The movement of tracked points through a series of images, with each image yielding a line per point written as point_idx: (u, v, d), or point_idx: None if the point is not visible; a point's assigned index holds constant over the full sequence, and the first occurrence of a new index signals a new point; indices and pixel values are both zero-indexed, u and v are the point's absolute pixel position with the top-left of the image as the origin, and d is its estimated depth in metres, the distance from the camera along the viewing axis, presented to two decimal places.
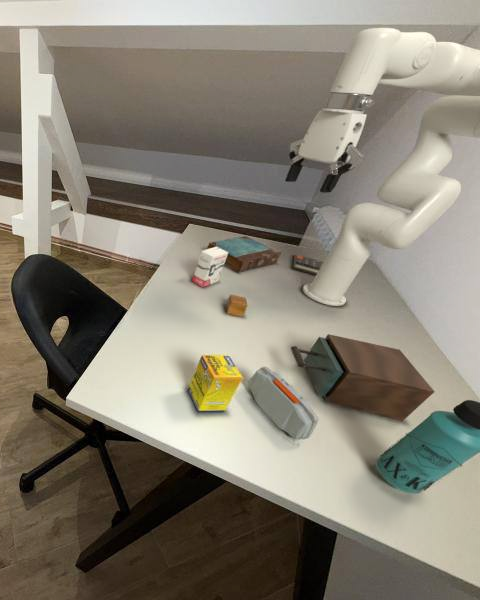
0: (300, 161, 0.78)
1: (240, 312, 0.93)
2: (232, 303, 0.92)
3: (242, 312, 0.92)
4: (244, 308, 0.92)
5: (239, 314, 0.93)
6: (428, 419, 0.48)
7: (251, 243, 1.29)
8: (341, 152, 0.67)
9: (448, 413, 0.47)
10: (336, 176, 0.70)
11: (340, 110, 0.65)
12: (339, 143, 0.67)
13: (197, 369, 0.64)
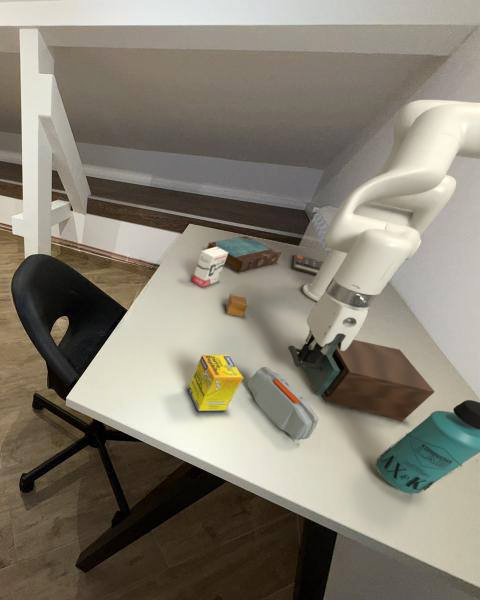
0: None
1: (240, 312, 0.93)
2: (232, 303, 0.92)
3: (242, 312, 0.92)
4: (244, 308, 0.92)
5: (239, 314, 0.93)
6: (428, 419, 0.48)
7: (251, 243, 1.29)
8: (328, 339, 0.62)
9: (448, 413, 0.47)
10: (313, 351, 0.68)
11: (332, 298, 0.61)
12: (328, 329, 0.62)
13: (197, 369, 0.64)
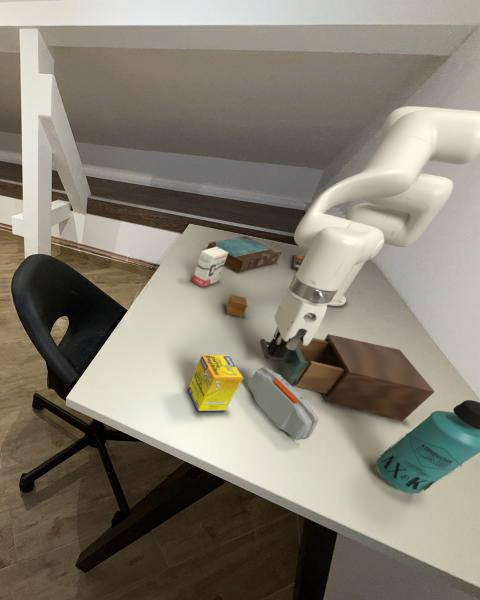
0: None
1: (240, 312, 0.93)
2: (232, 303, 0.92)
3: (242, 312, 0.92)
4: (244, 308, 0.92)
5: (239, 314, 0.93)
6: (428, 419, 0.48)
7: (251, 243, 1.29)
8: (291, 334, 0.64)
9: (448, 413, 0.47)
10: (280, 346, 0.70)
11: (294, 295, 0.62)
12: (290, 325, 0.64)
13: (197, 369, 0.64)
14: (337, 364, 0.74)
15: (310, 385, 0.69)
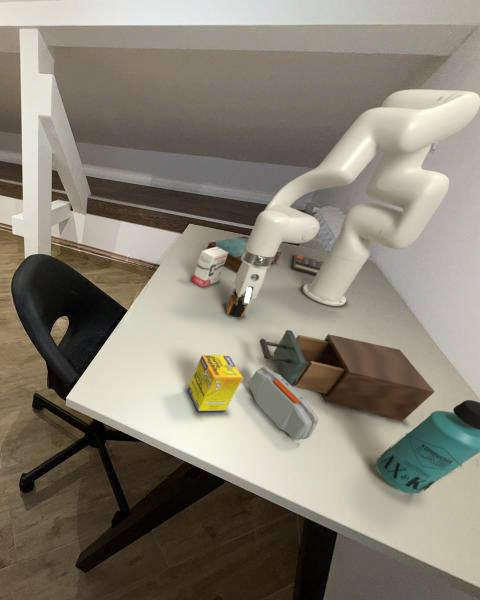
0: None
1: None
2: (232, 303, 0.92)
3: None
4: None
5: None
6: (428, 419, 0.48)
7: None
8: (242, 291, 0.86)
9: (448, 413, 0.47)
10: (238, 306, 0.90)
11: (244, 261, 0.85)
12: (242, 284, 0.86)
13: (197, 369, 0.64)
14: (337, 364, 0.74)
15: (310, 385, 0.69)
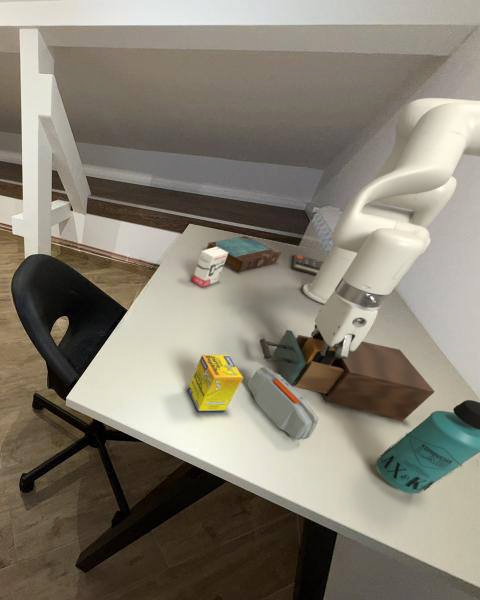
0: None
1: None
2: (315, 352, 0.67)
3: None
4: None
5: None
6: (428, 419, 0.48)
7: (251, 243, 1.30)
8: (337, 340, 0.62)
9: (448, 413, 0.47)
10: (325, 357, 0.66)
11: (341, 298, 0.60)
12: (337, 330, 0.62)
13: (197, 369, 0.64)
14: (337, 364, 0.74)
15: (310, 385, 0.69)
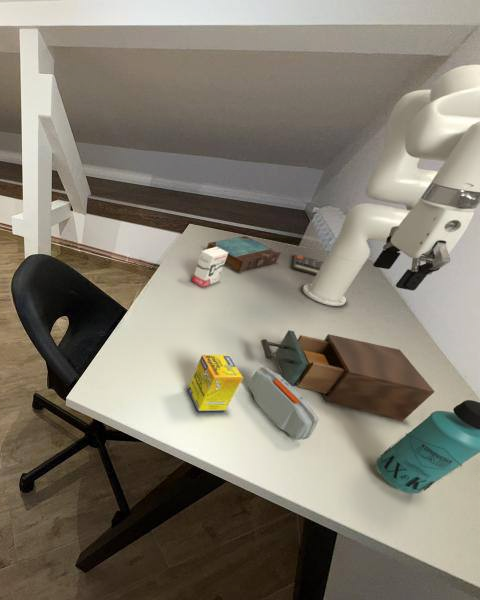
0: (397, 248, 0.68)
1: None
2: (309, 364, 0.69)
3: None
4: None
5: None
6: (428, 419, 0.48)
7: (250, 243, 1.30)
8: (425, 249, 0.58)
9: (448, 413, 0.47)
10: (417, 274, 0.60)
11: (432, 203, 0.57)
12: (425, 238, 0.58)
13: (197, 369, 0.64)
14: (339, 364, 0.73)
15: (312, 385, 0.69)
